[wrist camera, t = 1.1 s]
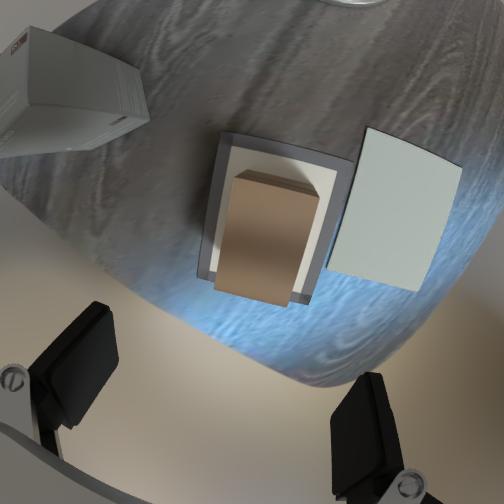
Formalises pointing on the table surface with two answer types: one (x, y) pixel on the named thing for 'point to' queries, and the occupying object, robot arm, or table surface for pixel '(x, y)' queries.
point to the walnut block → (265, 236)
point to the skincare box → (64, 96)
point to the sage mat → (394, 212)
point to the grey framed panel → (283, 165)
